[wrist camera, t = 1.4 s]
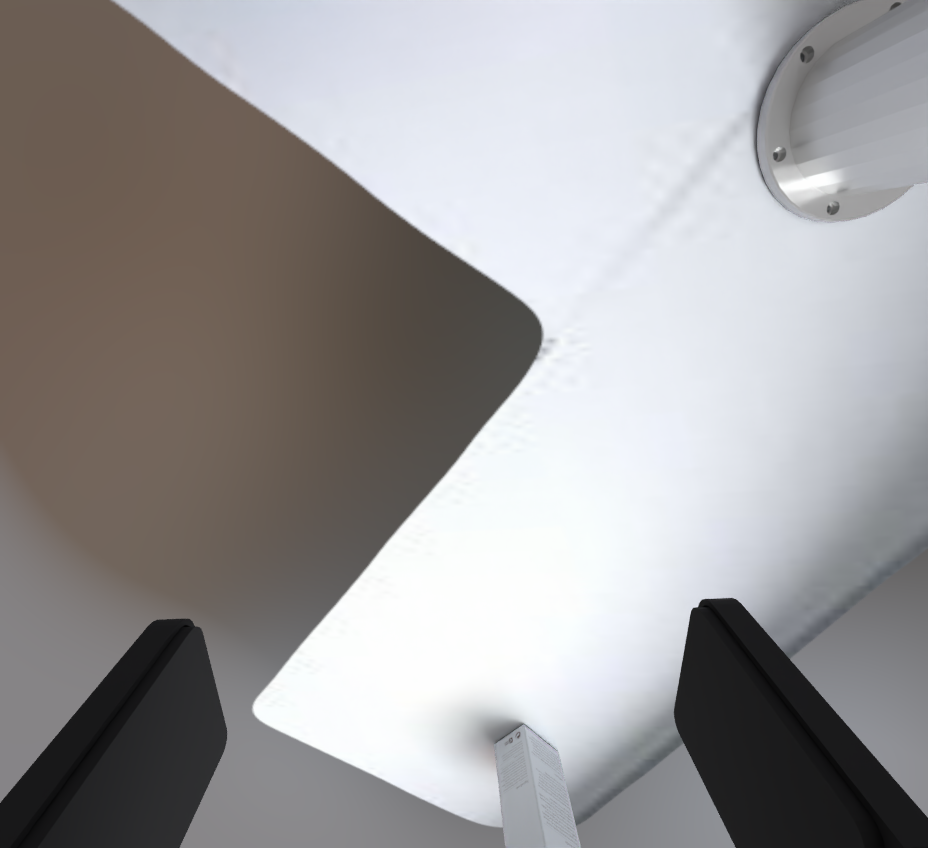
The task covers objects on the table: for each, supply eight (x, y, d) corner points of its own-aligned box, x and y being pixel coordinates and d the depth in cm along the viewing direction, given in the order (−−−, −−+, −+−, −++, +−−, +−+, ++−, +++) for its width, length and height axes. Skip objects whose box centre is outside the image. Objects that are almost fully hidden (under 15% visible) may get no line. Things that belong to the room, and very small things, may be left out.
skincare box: (492, 743, 48) (507, 890, 37) (523, 721, 47) (548, 865, 36) (529, 772, 50) (554, 922, 38) (560, 752, 49) (595, 898, 37)
